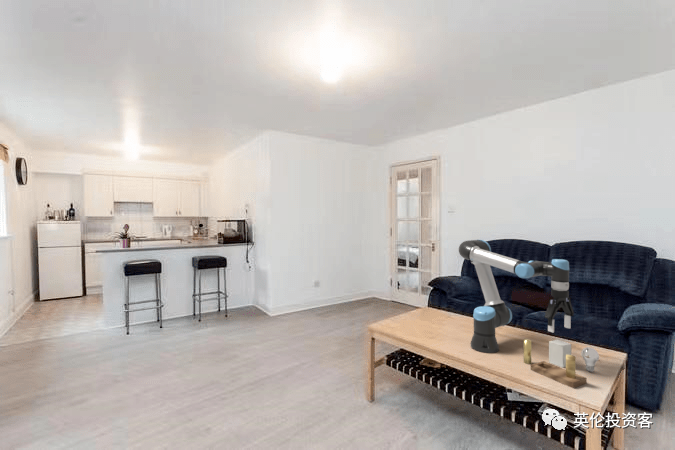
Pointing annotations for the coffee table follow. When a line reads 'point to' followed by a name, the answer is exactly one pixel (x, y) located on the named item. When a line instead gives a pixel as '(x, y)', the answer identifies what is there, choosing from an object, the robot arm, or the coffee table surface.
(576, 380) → the board
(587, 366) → the light bulb
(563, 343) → the block
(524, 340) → the pin
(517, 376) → the coffee table surface
